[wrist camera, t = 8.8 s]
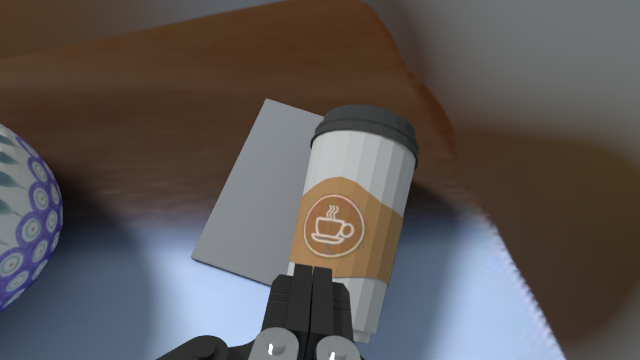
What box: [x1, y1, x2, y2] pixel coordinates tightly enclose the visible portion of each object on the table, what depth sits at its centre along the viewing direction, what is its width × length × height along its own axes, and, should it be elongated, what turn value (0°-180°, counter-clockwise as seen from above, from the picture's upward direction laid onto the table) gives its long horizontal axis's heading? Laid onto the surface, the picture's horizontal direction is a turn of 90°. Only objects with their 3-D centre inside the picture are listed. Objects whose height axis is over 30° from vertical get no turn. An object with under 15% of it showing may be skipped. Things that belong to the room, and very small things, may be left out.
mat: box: [191, 99, 324, 286], centre depth 31 cm, size 16×14×1 cm
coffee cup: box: [287, 104, 419, 344], centre depth 26 cm, size 8×8×15 cm
